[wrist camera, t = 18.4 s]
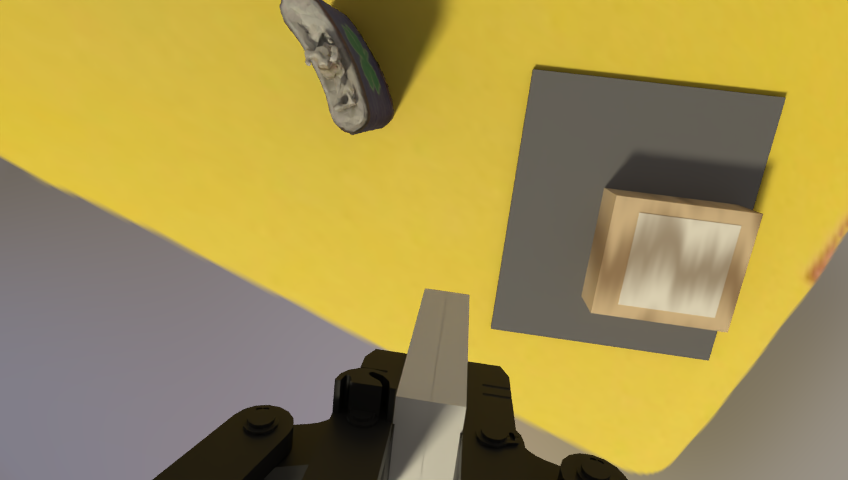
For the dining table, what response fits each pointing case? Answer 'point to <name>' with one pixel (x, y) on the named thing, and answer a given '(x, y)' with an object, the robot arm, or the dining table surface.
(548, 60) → the dining table surface
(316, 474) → the robot arm
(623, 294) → the oak tile
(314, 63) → the flask
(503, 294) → the mat
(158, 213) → the dining table surface
